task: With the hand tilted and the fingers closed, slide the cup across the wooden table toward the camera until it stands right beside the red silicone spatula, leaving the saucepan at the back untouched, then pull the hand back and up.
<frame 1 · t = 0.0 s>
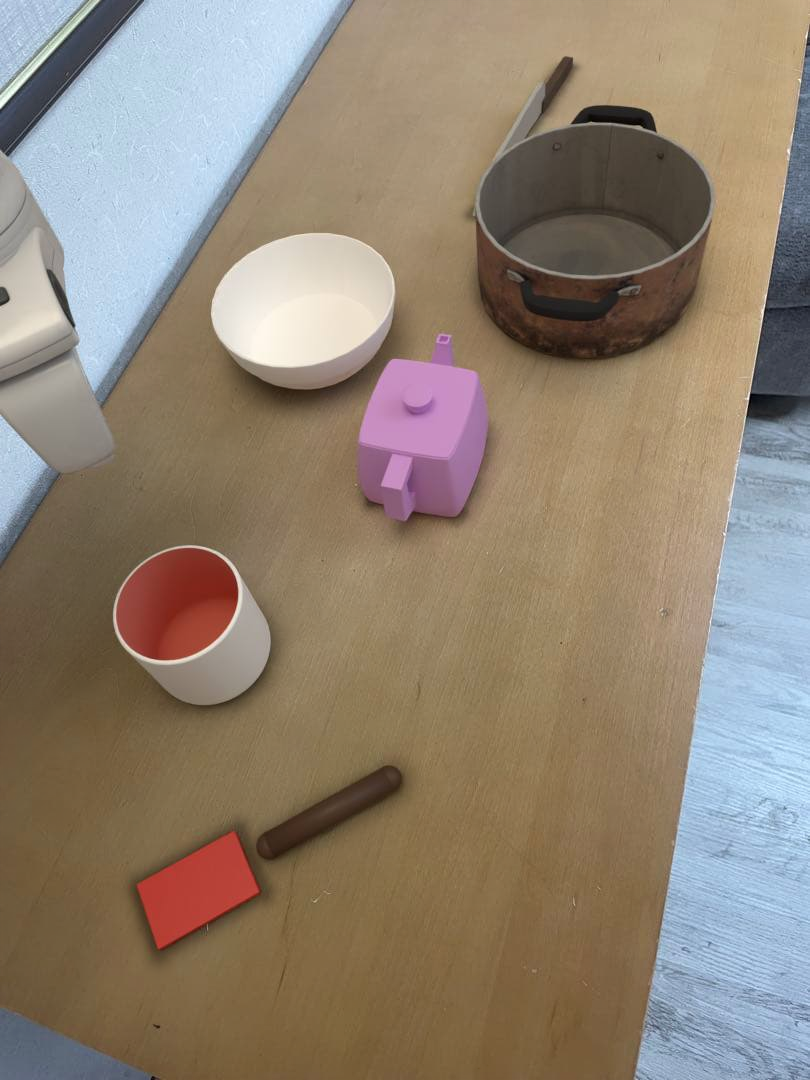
hand: (82, 410, 59), 21 cm above the table, tool pointing down, fingers open, 8 cm apart
teapot: (428, 462, 80), on the table
kitchen knife: (524, 138, 103), on the table
bowl: (317, 349, 89), on the table
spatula: (273, 848, 63), on the table
cup: (217, 654, 72), on the table
saucepan: (584, 283, 90), on the table
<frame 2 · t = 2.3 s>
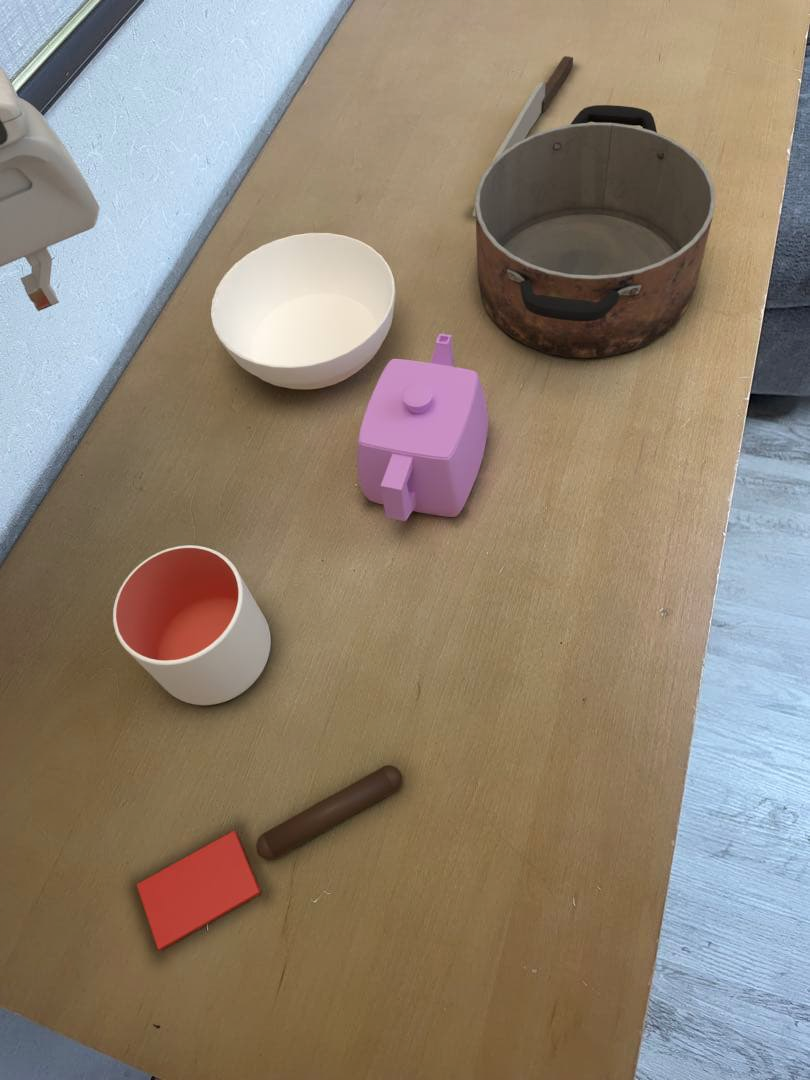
nothing on the table moved.
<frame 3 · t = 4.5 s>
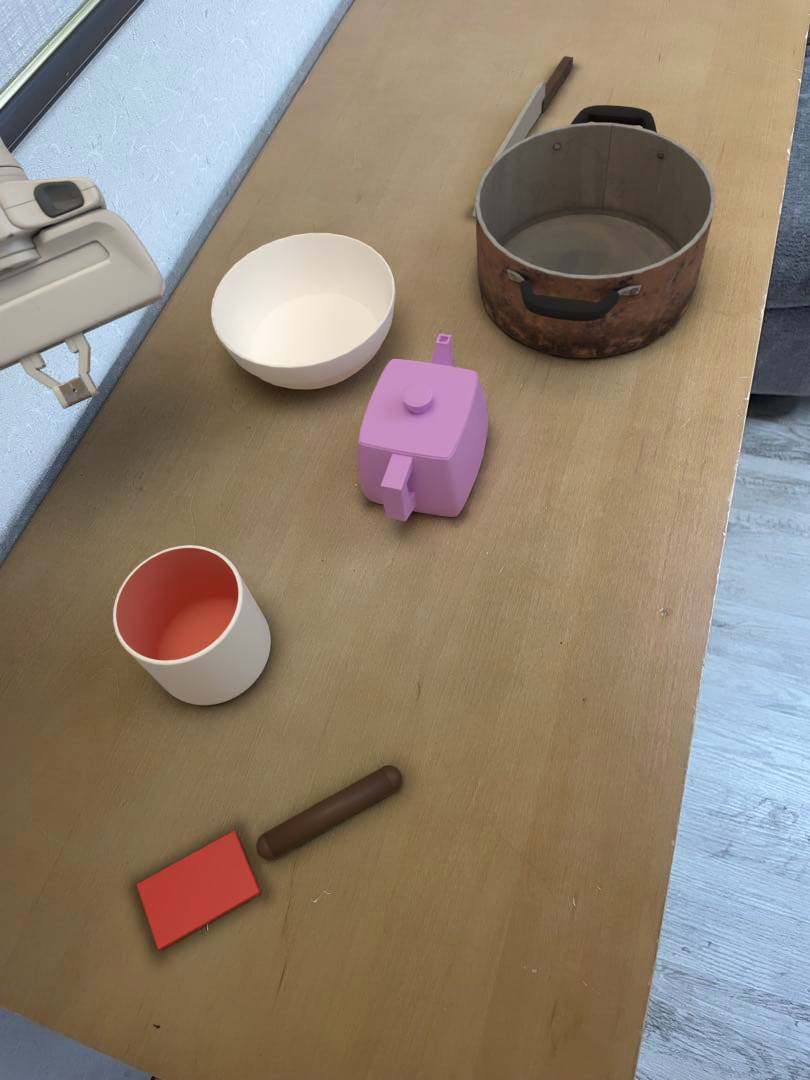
hand: (81, 401, 67), 16 cm above the table, tool tilted 45°, fingers closed
nothing on the table moved.
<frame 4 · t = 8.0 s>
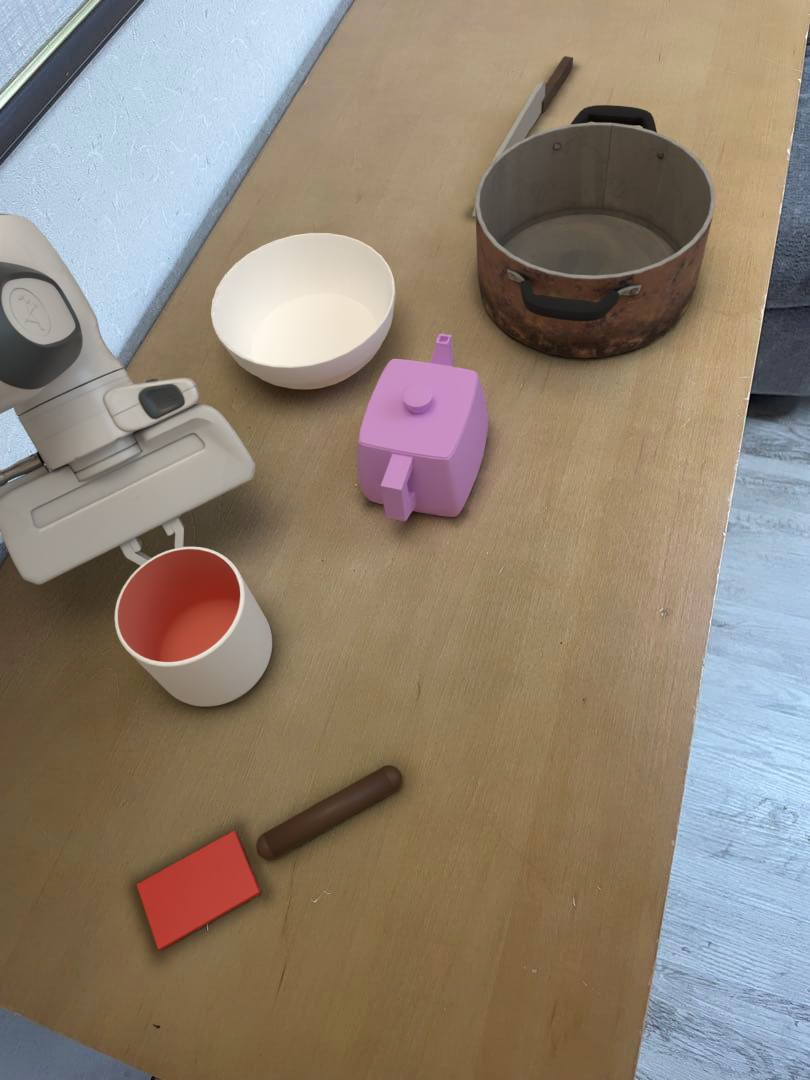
hand: (176, 577, 70), 5 cm above the table, tool tilted 45°, fingers closed, pressing on cup
cup: (218, 655, 72), on the table, touching gripper
everything else where it was.
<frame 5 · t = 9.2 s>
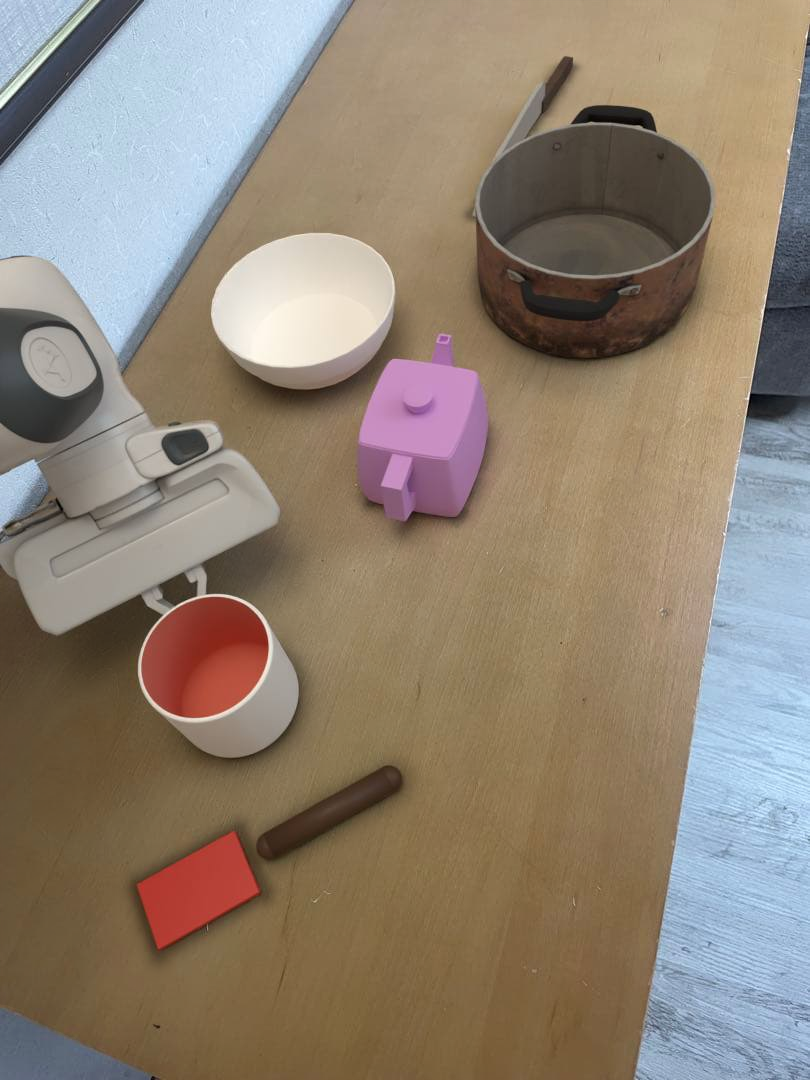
hand: (198, 625, 68), 5 cm above the table, tool tilted 45°, fingers closed, pressing on cup
cup: (243, 702, 70), on the table, touching gripper
everything else where it was.
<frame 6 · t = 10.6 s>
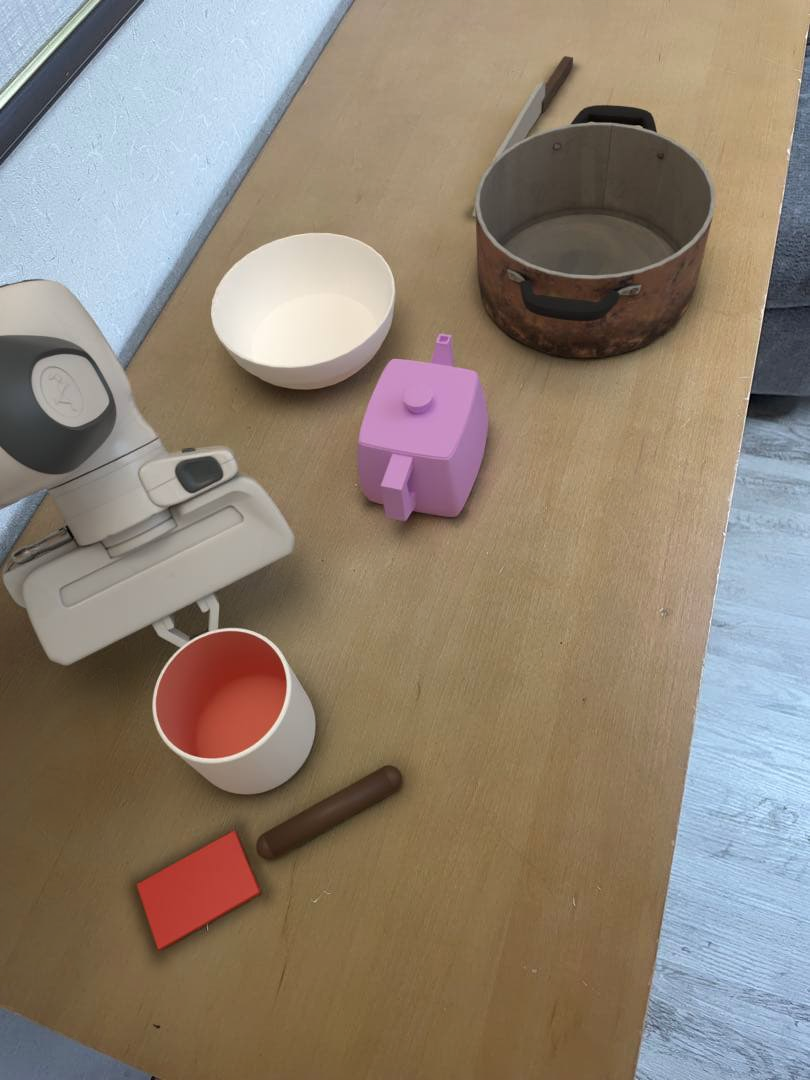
hand: (209, 654, 67), 5 cm above the table, tool tilted 45°, fingers closed
cup: (258, 736, 68), on the table
everything else where it was.
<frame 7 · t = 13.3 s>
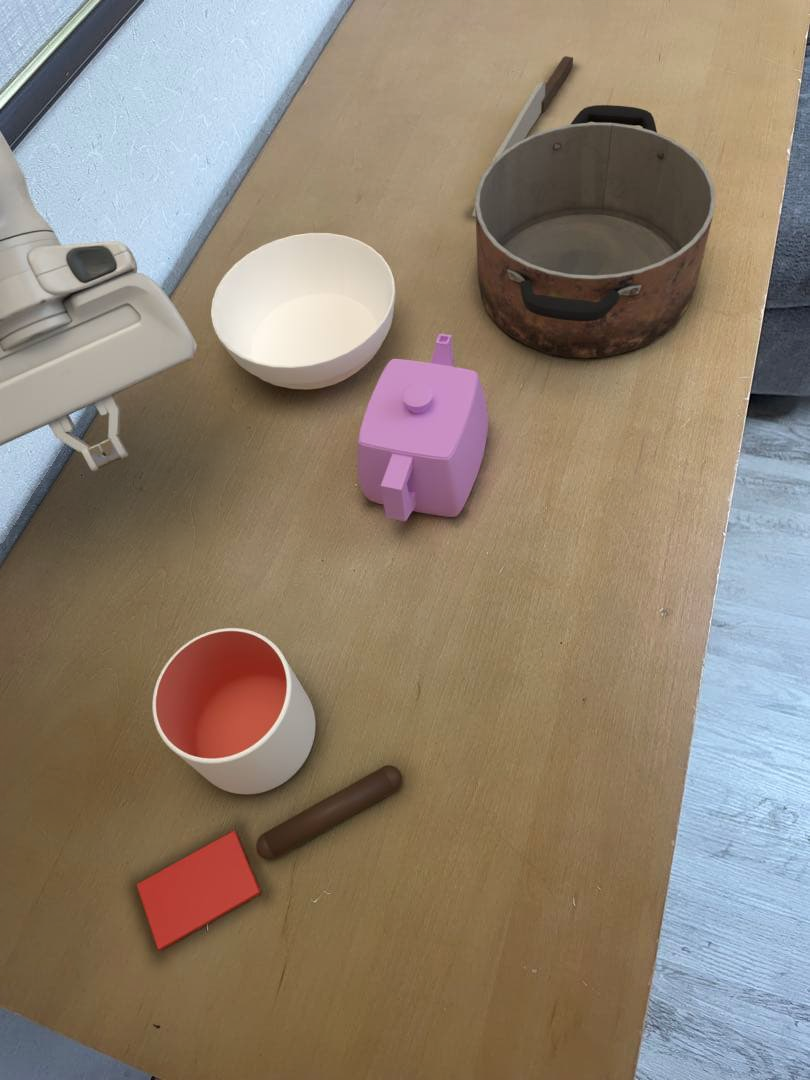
hand: (110, 463, 66), 14 cm above the table, tool tilted 45°, fingers closed
nothing on the table moved.
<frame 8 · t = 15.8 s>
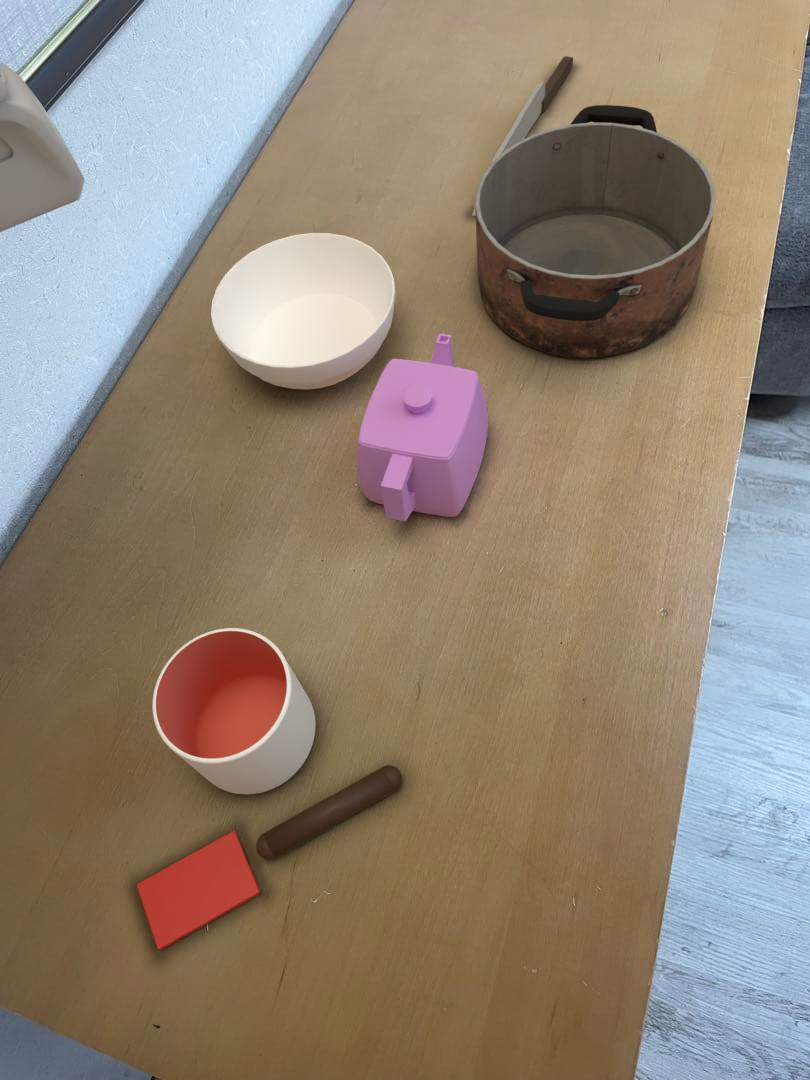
nothing on the table moved.
at the end: cup inside the target area on the table beside the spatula (2.1 cm from its centre), on the table; cup tilted 0°; saucepan moved 0.2 cm from its start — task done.
